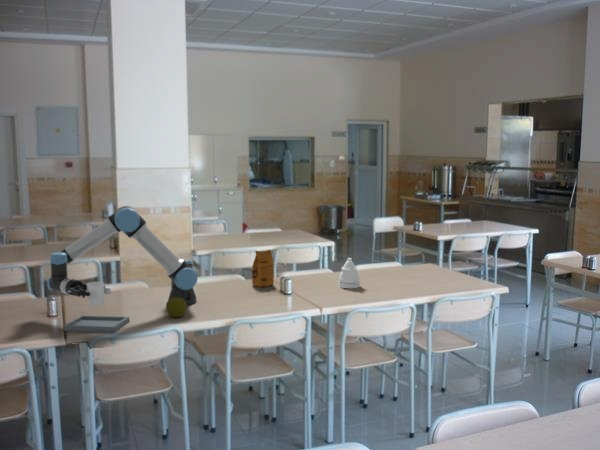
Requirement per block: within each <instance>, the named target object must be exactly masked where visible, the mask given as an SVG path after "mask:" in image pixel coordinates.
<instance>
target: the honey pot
mask: <svg viewBox="0 0 600 450" xmlns="http://www.w3.org/2000/svg"><path fill="white" fill-rule="evenodd" d="M358 269H359V268H358V267H357V266H356V265H355V263H354V262H353V261H352V257H347V260H346V261H345V263H344V264H343V266H341V271H340V274H339V277H338V288H339V287H343V288H356V287H359V286H360V284H361V283H360V280H361V278H360V275H359V272H358ZM343 288H342V289H343ZM359 288H360V287H359Z"/></svg>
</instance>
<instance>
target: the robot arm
mask: <svg viewBox="0 0 600 450" xmlns="http://www.w3.org/2000/svg"><path fill="white" fill-rule="evenodd" d="M120 232H123V234H125V236H127V237H128V238H129V239H134V240H135V241H136V242H137V243H138V244H139V245H140V246H141V247H142V248H143V249H144V250H145V251H146V252H147V253H148V254H149V255H150V256H151V257H153V259H154V260H155V261H156V262H157V263H158V264H159V265H160V266H161V267H162V268H164V269H165V271H166V276H167V277H168V278H169V279H170V282H171V283H170V284H171V286H170V287H171V288H170V293H169V295H168V300H169V299H170V298H173V297H181V298H183V299H184V300H185V302H186V304H187V305H192V304H195V303H196V302H197V295H196V292H195V290H194V289H195V288H194V287H195V286H196V285H197V282H198V273H197V272H196V271H195V269H193V266H194V264H193V261H192V260H191V259H190V260H188V259H187V260H185V259H184V258H178V256H176V255H175V253H173V252H172V250H170V249H169V248H168V247H167V245H165V243H163V242H162V241H161V240H160V239H159V237H158V236H156V234H155V233H153V232H152V230H151V229H150V228H149V227H147V221H146V220H145V219H144V218H143V217H142V216H141V215H140V214H139V213H138V212H137V211H136V209H135V208H133V207H131V206H128V205H124V206H121V207H118V209H117V210H115V211H114V212H112V214H111V215H109V216H108V217H107V218H106V220H105V221H104V222H102V223H101V224H100V225H98V226H96V227H95V228H93V229H92V230H90V231H88V232H87V233H86V234H84V235H82V236H81V237H80V238H79V239H77V240H76V241H74V242H72V243H71V244H69V245H68V246H67V247H65V248H64V249H62V250H61V251H58V252H53V253H51V254H50V258H49V262H50V277H49V278H48V280H47V282H46V285H47V289H48V290H49V291H51V292H52V291H53V292H54V293H59V294H60V293H61V294H67V296H73V297H79V298H81V296H82V298H84V299H85V298H86V297H87V298H88V297H92V298H96V292H94V291H89V290H87V284H84V283H83V282H82V281H81V280H77V279H74V278H68V265H70V264H71V263H72V262H74V261H75V260H76V259H78V258H79V257H81V256H82V255H84V254H85V253H87V252H88V251H89V250H92V249H94V247H96V246H97V245H99V244H100V243H102V242H103V241H105V240H106V239H108V238H109V237H111V236H112V235H114V234H115V233H120ZM111 294H112V293H111V288H109V287H106V286H105V285H104V295H111ZM168 300H167V301H168Z"/></svg>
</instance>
